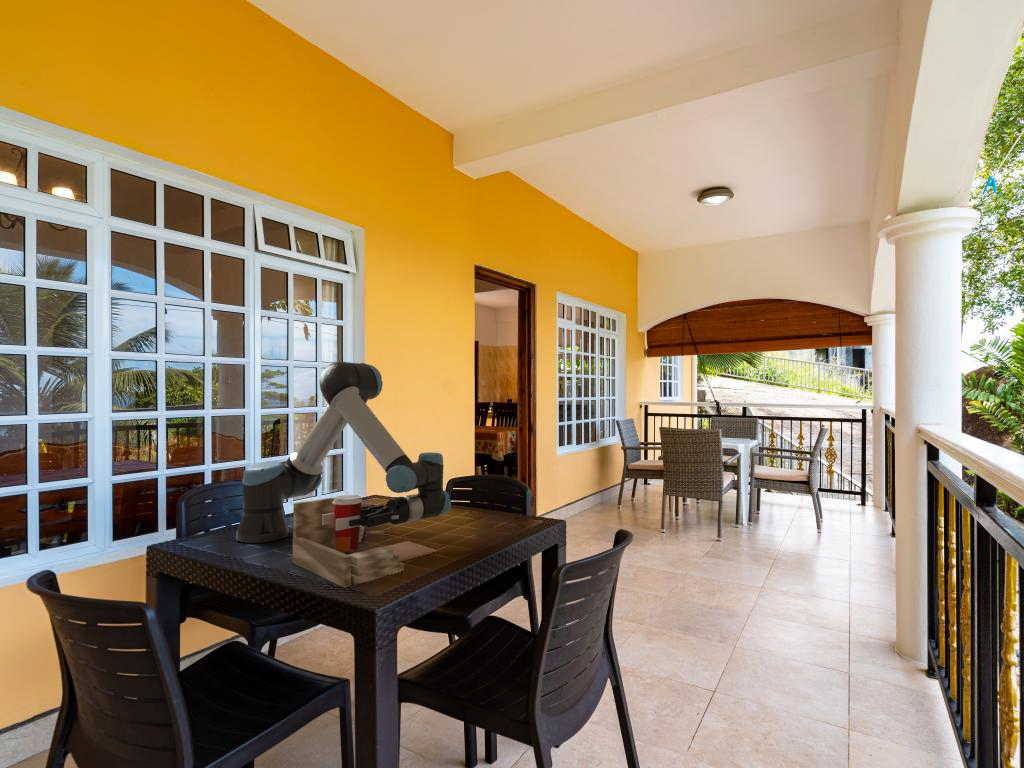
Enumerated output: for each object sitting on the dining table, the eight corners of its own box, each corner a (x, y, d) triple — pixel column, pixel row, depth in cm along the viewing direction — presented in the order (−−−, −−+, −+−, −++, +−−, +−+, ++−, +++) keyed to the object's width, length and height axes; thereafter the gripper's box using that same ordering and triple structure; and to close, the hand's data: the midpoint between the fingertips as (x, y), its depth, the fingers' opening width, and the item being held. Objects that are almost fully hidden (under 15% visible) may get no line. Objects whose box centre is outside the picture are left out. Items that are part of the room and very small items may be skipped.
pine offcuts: (392, 567, 142) (392, 544, 142) (404, 571, 138) (404, 548, 138) (343, 580, 132) (343, 555, 132) (355, 585, 128) (355, 560, 128)
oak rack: (350, 549, 158) (350, 494, 158) (405, 570, 139) (405, 508, 139) (292, 562, 146) (293, 503, 146) (344, 587, 127) (344, 519, 127)
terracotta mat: (407, 543, 165) (407, 541, 165) (436, 552, 156) (436, 550, 156) (367, 552, 155) (367, 550, 155) (395, 562, 146) (395, 560, 146)
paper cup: (356, 544, 149) (357, 493, 150) (365, 550, 143) (366, 497, 143) (327, 548, 145) (328, 495, 145) (335, 555, 139) (336, 500, 139)
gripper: (423, 528, 150) (348, 544, 134) (384, 516, 164) (311, 530, 147) (424, 501, 150) (348, 514, 134) (385, 491, 164) (312, 502, 147)
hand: (329, 522), depth 141 cm, fingers closed on paper cup, 7 cm apart
